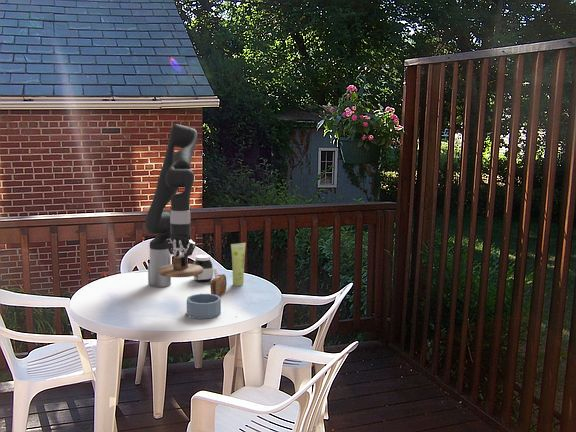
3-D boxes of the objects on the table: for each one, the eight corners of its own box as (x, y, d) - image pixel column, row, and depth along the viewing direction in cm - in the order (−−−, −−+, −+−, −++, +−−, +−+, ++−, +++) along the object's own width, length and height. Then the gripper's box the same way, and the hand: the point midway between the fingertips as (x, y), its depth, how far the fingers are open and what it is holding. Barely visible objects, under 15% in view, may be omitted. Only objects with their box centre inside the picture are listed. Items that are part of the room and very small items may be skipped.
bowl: (180, 315, 227) (180, 300, 226) (199, 306, 238) (199, 291, 237) (208, 321, 221) (208, 305, 220) (226, 311, 233) (227, 296, 232)
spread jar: (190, 278, 278) (190, 254, 276) (212, 275, 284) (212, 252, 282) (201, 285, 268) (201, 260, 266) (223, 282, 274) (224, 257, 272)
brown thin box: (216, 300, 246) (216, 281, 245) (209, 300, 247) (209, 280, 245) (227, 290, 261) (227, 272, 259) (220, 290, 261) (220, 271, 260)
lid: (148, 273, 222) (148, 257, 221) (176, 264, 237) (176, 249, 236) (185, 279, 214) (184, 263, 213) (211, 269, 229) (211, 254, 228)
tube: (240, 287, 266) (241, 244, 263) (230, 285, 268) (230, 243, 265) (245, 283, 272) (245, 242, 269) (235, 282, 273) (235, 241, 270)
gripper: (159, 221, 222) (160, 265, 225) (189, 224, 216) (189, 270, 219) (172, 218, 229) (172, 261, 232) (201, 221, 223) (201, 266, 225)
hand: (180, 265), depth 225 cm, fingers closed on lid, 2 cm apart
